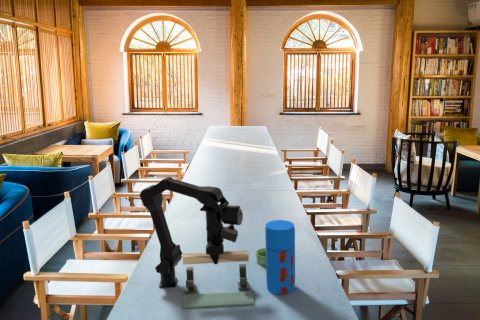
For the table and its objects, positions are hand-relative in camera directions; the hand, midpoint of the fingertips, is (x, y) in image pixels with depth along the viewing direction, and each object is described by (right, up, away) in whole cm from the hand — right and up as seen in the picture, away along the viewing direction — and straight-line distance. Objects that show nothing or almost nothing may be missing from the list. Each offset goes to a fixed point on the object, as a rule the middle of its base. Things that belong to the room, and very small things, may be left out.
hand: (216, 262), depth 167 cm
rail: (0, 0, 0) cm, 0 cm away
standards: (0, -11, +3) cm, 11 cm away
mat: (+1, -13, -5) cm, 14 cm away
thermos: (+24, -10, +3) cm, 27 cm away
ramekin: (+20, -6, +25) cm, 33 cm away
